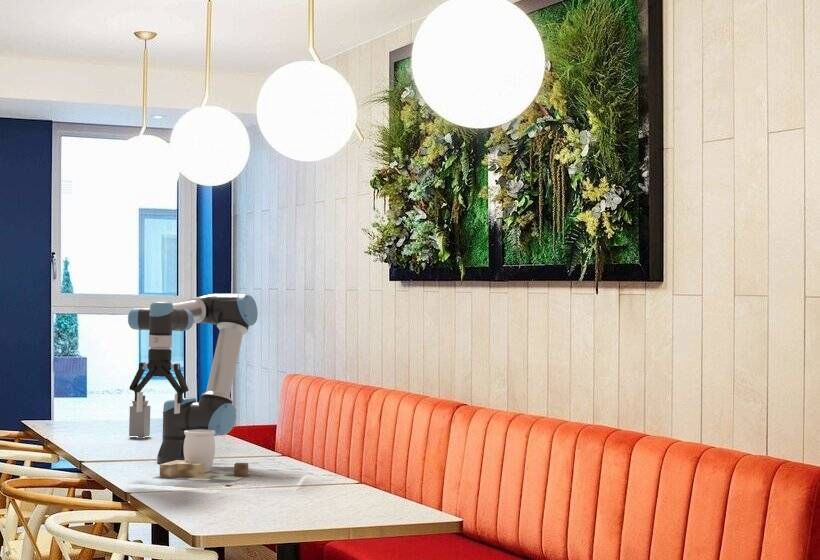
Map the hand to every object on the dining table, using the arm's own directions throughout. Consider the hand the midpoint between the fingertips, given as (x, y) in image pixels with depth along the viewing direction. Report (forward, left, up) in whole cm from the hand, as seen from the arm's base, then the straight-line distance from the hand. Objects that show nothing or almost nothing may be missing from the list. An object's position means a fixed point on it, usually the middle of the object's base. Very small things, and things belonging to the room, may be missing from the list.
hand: (158, 412), depth 369 cm
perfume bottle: (-63, +102, -21) cm, 122 cm away
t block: (+11, -1, -20) cm, 23 cm away
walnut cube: (+28, +5, -20) cm, 35 cm away
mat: (+17, -1, -21) cm, 27 cm away
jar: (+10, +12, -22) cm, 26 cm away
